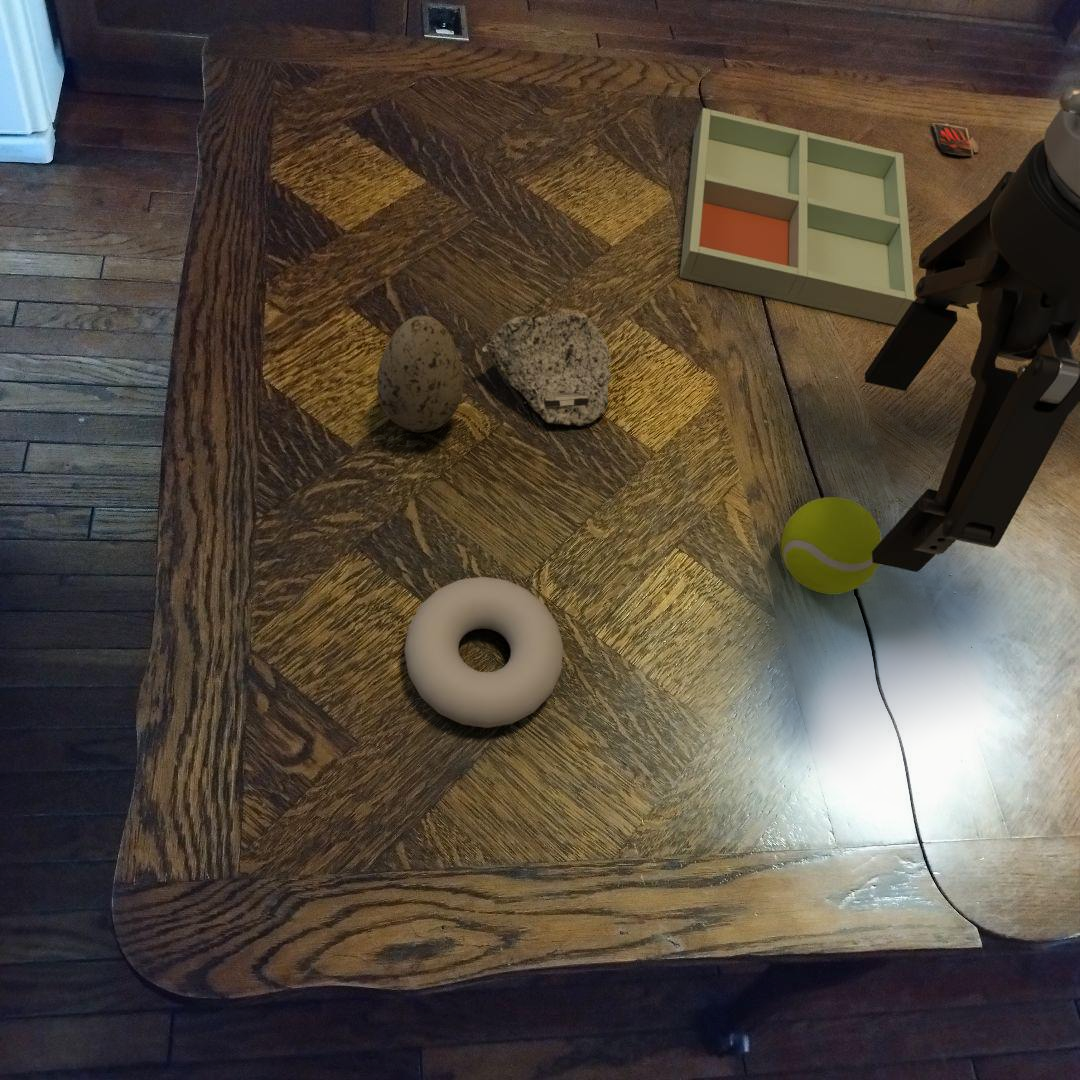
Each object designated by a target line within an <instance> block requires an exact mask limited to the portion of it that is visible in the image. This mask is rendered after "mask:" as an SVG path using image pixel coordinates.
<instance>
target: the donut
mask: <svg viewBox="0 0 1080 1080" xmlns="http://www.w3.org/2000/svg"><path fill="white" fill-rule="evenodd" d="M480 629H486V630H492V631H494V632H496V633H498V634H500V635H501V636H502V637H503V638H504V639H505V640H506V643H508V646H509V648H510V654H509V655H510V657H509V659H508V661H507V663H506V664H505V665H504V666H503V667H500V668H499V669H497V670H494V671H488V672H486V671H479V670H477V669H474V668H472V667H470V666H469V665H468V664H466V662H464V660H463V659H462V657H461V655H460V653H459V646H460V643H461V640H462V639H463V637H464V636H465V635H466V634H468V633H470V632H472V631H474V630H480ZM404 656H405V663H406V667H407V674H408V677H409V678H410V680H411V682H412V683H413V686H414V687H415V689H416V691H417V692H418V694H419V696H420V698H421V699H422V700H423V701H425V702H426V703H427V704H428V705H429V706H430V707H431V708H432V709H433V710H434V711H436V712H437V713H438V714H439V715H441V716H443V717H445V718H447V719H449V720H452V721H454V722H456V723H458V724H460V725H464V726H471V727H477V728H478V727H479V728H486V729H489V728H496V727H501V726H507V725H512V724H514V723H516V722H518V721H520V720H522V719H524V718H526V717H528V716H530V715H531V714H534V713H535V712H536V711H537V710H538V709H539V708H540V706H541V705H543V703H544V702H545V701H546V700H547V699H548V698H549V697H550V696H551V695H552V694H553V692H554V690H555V687H556V685H557V683H558V680H559V679H560V676H561V674H562V671H563V670H562V669H563V657H564V644H563V639H562V636H561V632H560V629H559V624H558V623H557V621H556V620H555V618H554V616H553V615H552V613H551V612H550V610H549V608H548V607H547V606H546V604H545V603H543V602H542V601H541V600H540V599H539V598H538V597H536V596H535V595H534V594H532V592H530V591H529V590H528V589H526V588H525V587H522V586H520V585H517V584H516V583H513V582H511V581H509V580H506V579H503V578H502V579H501V578H494V577H488V576H478V577H471V578H470V577H469V578H463V579H458V580H456V581H453V582H451V583H449V584H446V585H445V586H443V587H440V588H438V589H436V590H435V591H434V592H433V593H432V594H431V595H430V596H429V597H427V598H426V599H425V600H424V601H423V602H422V603H421V604H420V605H419V607H418V609H417V610H416V612H415V614H414V616H413V617H412V620H411V621H410V623H409V625H408V627H407V632H406V638H405V643H404Z"/></svg>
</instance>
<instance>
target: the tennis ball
mask: <svg viewBox="0 0 1080 1080" xmlns="http://www.w3.org/2000/svg"><path fill="white" fill-rule="evenodd" d="M782 531H783V532H782V535H781V540H780V545H781V556H782V560H783V563H784V565H785V567H786V569H787V570H788V572H789V573H790V575H791V576H792V577H793V578H794V579H795V581H797V582H798V583H799V584H801V586H804V587H805V588H807V589H808V590H811V591H814V592H816V593H820V594H824V595H839V594H840V595H841V594H846V593H848V592H851V591H853V590H855V589H859V587H861V586H863V585H864V584H865V583H866V582H868V581H869V580H870V578H871V577H872V576H873V575H874V574H875V572H876V570H877V569H878V567H879V565H880V564H876V563H872V551H873V550H874V549H875V547H876V546H877V545H878V544H879V543H880V542H881V541H882V540H883V538H882V533H881V531H880V527H879V525H878V523H877V521H876V519H875V518H874V517H873V516H872V514H871V513H870V512H869V511H868V510H867V509H866V508H864V507H863V506H862V505H860V504H859V503H857V502H855V501H853V500H851V499H847V498H843V497H839V496H827V497H822V498H821V497H820V498H816V499H814V500H810V501H809V502H807V503H805V504H804V505H802V506H800V507H799V508H798V509H797V510H796V511H794V513H793V514H792V515H791V516H790V517H789V519H788V521H787V523H786V524H785V527H784V528H783V530H782Z"/></svg>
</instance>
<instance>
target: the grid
mask: <svg viewBox="0 0 1080 1080" xmlns="http://www.w3.org/2000/svg"><path fill="white" fill-rule="evenodd" d="M690 158H691V159H690V168H689V180H688V189H687V197H686V209H685V219H684V230H683V238H682V247H681V248H682V250H681V259H680V268H679V278H680V279H684V280H689V281H693V282H699V283H702V284H708V285H710V286H711V285H712V286H715V287H720V288H725V289H730V290H734V291H737V292H738V291H739V292H744V293H748V294H752V295H756V296H761V297H767V298H771V299H775V300H779V301H783V302H788V303H793V304H797V305H803V306H806V307H812V308H816V309H820V310H824V311H825V310H826V311H829V312H833V313H839V314H842V315H848V316H851V317H856V318H861V319H865V320H870V321H875V322H878V323H879V322H880V323H884V324H888V325H893V326H897V325H898V323H899V322H900V320H901V319H902V317H903V316H904V314H905V313H906V311H907V310H908V308H909V307H910V305H911V304H912V302H914V301H915V300H916V298H915V297H916V296H915V287H914V274H913V273H914V272H913V261H912V260H913V259H912V250H911V249H912V247H911V236H910V223H909V210H908V198H907V186H906V185H907V184H906V172H905V162H904V153H901V152H898V151H892V150H887V149H883V148H880V147H876V146H871V145H866V144H861V143H858V142H854V141H848V140H845V139H840V138H837V137H836V138H835V137H832V136H827V135H823V134H818V133H814V132H809V131H805V130H801V129H797V128H793V127H788V126H784V125H779V124H775V123H771V122H766V121H761V120H757V119H753V118H749V117H744V116H740V115H736V114H733V113H727V112H723V111H718V110H715V109H714V110H713V109H710V108H706V107H702V109H701V112H700V116H699V118H698V121H697V124H696V127H695V130H694V133H693V138H692V150H691V157H690Z"/></svg>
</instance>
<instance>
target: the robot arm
mask: <svg viewBox="0 0 1080 1080" xmlns="http://www.w3.org/2000/svg"><path fill="white" fill-rule="evenodd" d="M1058 105H1059V108H1060V109H1059V110H1058V112H1057V113H1056V114H1055V116H1054V117H1053V119H1052V121H1051V122H1050V123H1049V125H1048V126H1047V128H1046V129H1045V133H1044V138H1043V139H1041V140H1039V141H1038V142H1037V143H1035V144H1034V145H1033V146H1032V148H1031V149H1030V150H1029V151H1028V152H1027V155H1026V156H1025V157H1024V159H1023V160H1022V162H1021V164H1020V165H1019V166H1018V167H1017V169H1016V171H1011V170H1008V171H1006V173H1004V174H1003V176H1002V177H1001V178H1000V180H999V181H998V182H997V183H996V185H995V186H994V187H993V189H992V190H991V191H990V193H989V194H988V196H987V197H986V198H985V199H984V200H982V201H981V202H980V203H978V205H976V206H975V207H974V208H973V209H972V210H970V211H969V212H968V213H967V214H965V215H964V216H962V218H960V219H959V220H958V221H957V222H955V223H954V224H953V225H952V226H951V227H949V228H948V229H947V230H946V231H944V232H943V233H942V234H941V235H939V236H938V237H937V238H936V239H935V240H933V241H932V242H931V243H929V244H928V245H927V246H926V247H925V248H924V249H923V250H922V252H921V253H920V254H919V257H918V268H920V269H922V270H925V273H924V274H925V276H922V277H920V279H919V280H918V282H917V284H916V286H915V290H914V296H915V297H916V298H915V301H914V302H912V304H911V305H910V307H909V308H908V310H907V311H906V313H905V314H904V316H903V317H902V319H901V320H900V322H899V323H898V325H895V327H894V329H893V330H892V331H891V333H890V335H889V337H888V338H887V339H886V341H885V342H884V344H883V346H882V347H881V348H880V350H879V352H878V353H877V354H876V356H875V357H874V359H873V360H872V362H871V363H870V364H869V367H867V369H866V370H865V372H864V383H865V384H871V385H875V386H881V387H884V388H889V389H894V390H898V391H902V392H906V391H907V390H908V389H909V387H910V386H911V385H912V383H913V382H914V380H915V379H916V378H917V376H918V375H919V374H920V372H921V371H922V370H923V368H924V367H925V366H926V364H928V362H929V360H930V359H931V357H932V356H933V355H934V353H935V352H936V351H937V350H938V348H939V347H940V345H941V344H942V343H943V341H944V340H945V339H946V337H947V336H948V334H949V333H950V332H951V331H952V329H953V328H954V327H955V325H956V324H957V323H958V322H959V321H958V312H957V310H951V309H948V307H949V306H953V307H957V308H963V309H966V310H969V309H970V306H968V305H972V304H976V312H977V317H978V320H979V321H980V325H981V327H980V341H979V343H978V346H977V349H976V352H975V354H974V358H973V360H972V363H971V365H970V371H969V372H970V376H971V377H972V378H973V379H974V382H975V384H974V387H973V390H972V393H971V396H970V399H969V401H968V404H967V407H966V410H965V411H964V412H965V413H964V416H963V418H962V422H961V424H960V426H959V429H958V433H957V435H956V437H955V441H954V443H953V446H952V449H951V451H950V455H949V457H948V460H947V464H946V465H945V469H944V471H943V474H942V477H941V480H940V483H939V486H938V489H936V490H935V489H932V488H927V489H925V491H924V492H923V493H922V494H921V495H920V497H918V499H917V500H916V501H915V502H914V503H913V505H912V506H911V507H910V508H909V509H908V510H906V511H907V512H905V513H904V515H902V517H901V518H900V519H899V521H897V522H896V524H895V525H894V526H893V527H892V528H891V529H890V530H889V531H888V533H887V534H885V536H884V537H883V538H882V541H881V542H880V543H879V544H878V545H877V546H876V547H875V549H874V550H873V551H872V563H876V564H879V565H882V566H887V567H891V568H894V569H895V568H896V569H900V570H905V571H910V572H915V573H919V572H920V571H921V570H923V568H924V567H925V566H926V565H927V564H928V563H930V561H931V560H932V559H933V558H934V557H935V556H939V555H942V554H944V553H945V552H946V551H947V550H948V549H949V548H950V547H951V546H952V545H953V544H954V543H956V541H959V542H963V543H964V542H965V543H969V544H973V545H977V546H983V547H987V548H991V549H992V548H993V549H994V548H996V547H997V546H998V545H999V544H1000V542H1001V540H1002V538H1003V537H1004V535H1005V533H1006V531H1007V529H1008V527H1009V526H1010V523H1011V522H1012V520H1013V518H1014V516H1015V515H1016V513H1017V511H1018V509H1019V507H1020V505H1021V504H1022V501H1023V499H1025V496H1026V494H1027V492H1028V491H1029V489H1030V487H1031V485H1032V483H1033V481H1034V479H1035V477H1036V476H1037V474H1038V472H1039V470H1040V468H1041V466H1042V465H1043V463H1044V461H1045V460H1046V457H1047V455H1048V454H1049V452H1050V450H1051V448H1052V446H1053V445H1054V442H1055V441H1056V438H1057V437H1058V435H1059V433H1060V431H1061V430H1062V428H1063V426H1064V424H1065V422H1066V420H1067V418H1068V417H1069V415H1070V414H1071V413H1072V412H1073V410H1074V409H1075V408H1076V407H1077V406H1078V405H1079V403H1080V362H1079V361H1078V362H1077V360H1076V358H1075V355H1074V352H1073V348H1072V345H1073V344H1074V342H1075V341H1076V339H1077V337H1078V335H1079V333H1080V80H1079V81H1078V83H1077V84H1076V85H1073V84H1071V85H1070V86H1068V87H1066V88H1065V89H1064V90H1063V92H1062V94H1061V96H1060V98H1059V101H1058ZM997 358H1002V359H1005V360H1009V361H1016V362H1027V361H1030V362H1029V363H1028V365H1027V366H1026V365H1021V366H1020V367H1019V368H1018V369H1017V371H1014V370H1011V369H1006V368H1001V367H998V366H997V365H996V361H997Z"/></svg>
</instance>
